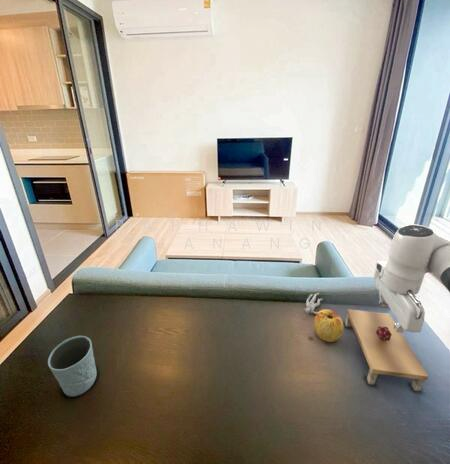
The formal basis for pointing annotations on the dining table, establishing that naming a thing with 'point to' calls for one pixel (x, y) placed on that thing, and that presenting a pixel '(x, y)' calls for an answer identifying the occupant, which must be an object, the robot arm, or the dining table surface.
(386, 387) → the dining table surface
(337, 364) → the dining table surface
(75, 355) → the grey cup
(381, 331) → the dice
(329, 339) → the apple
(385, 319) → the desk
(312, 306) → the soldier figure
